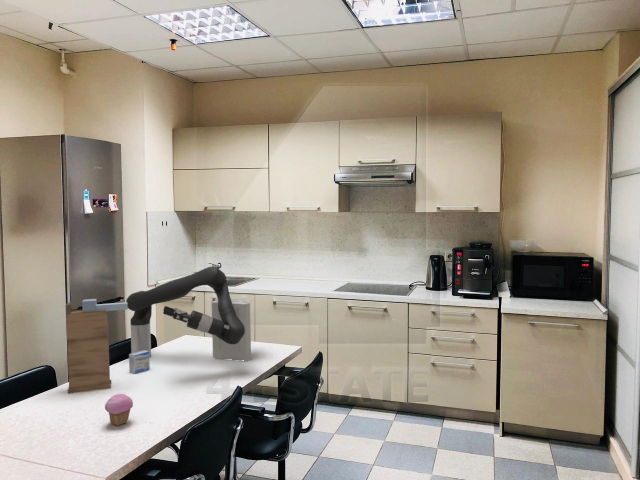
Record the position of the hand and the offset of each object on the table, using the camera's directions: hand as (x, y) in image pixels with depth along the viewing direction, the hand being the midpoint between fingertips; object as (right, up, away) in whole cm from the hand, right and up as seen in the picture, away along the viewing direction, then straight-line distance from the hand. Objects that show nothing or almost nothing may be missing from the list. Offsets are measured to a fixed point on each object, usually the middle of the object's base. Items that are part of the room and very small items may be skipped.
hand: (163, 309), depth 213 cm
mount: (-29, -32, -6) cm, 43 cm away
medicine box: (-16, -31, +15) cm, 38 cm away
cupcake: (-2, -34, -41) cm, 53 cm away
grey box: (+25, -29, +38) cm, 54 cm away
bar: (-22, 0, -6) cm, 23 cm away
